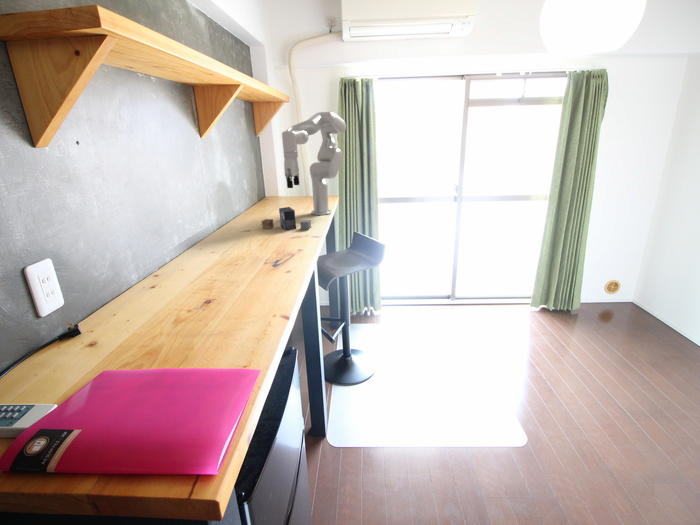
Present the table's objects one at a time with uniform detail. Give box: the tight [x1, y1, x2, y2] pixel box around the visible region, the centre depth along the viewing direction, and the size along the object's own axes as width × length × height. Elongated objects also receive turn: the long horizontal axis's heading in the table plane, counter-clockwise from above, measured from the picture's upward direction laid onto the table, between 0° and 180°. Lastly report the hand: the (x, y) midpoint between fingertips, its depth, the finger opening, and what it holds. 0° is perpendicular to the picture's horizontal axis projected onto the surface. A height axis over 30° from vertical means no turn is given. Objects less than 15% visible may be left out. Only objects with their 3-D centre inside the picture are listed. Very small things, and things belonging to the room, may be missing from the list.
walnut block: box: [261, 218, 274, 230], centre depth 204 cm, size 4×4×4 cm
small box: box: [278, 206, 297, 231], centre depth 203 cm, size 11×6×10 cm, turn 25°
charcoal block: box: [299, 219, 312, 231], centre depth 200 cm, size 4×4×4 cm
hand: (293, 186), depth 208 cm, fingers open, 9 cm apart
